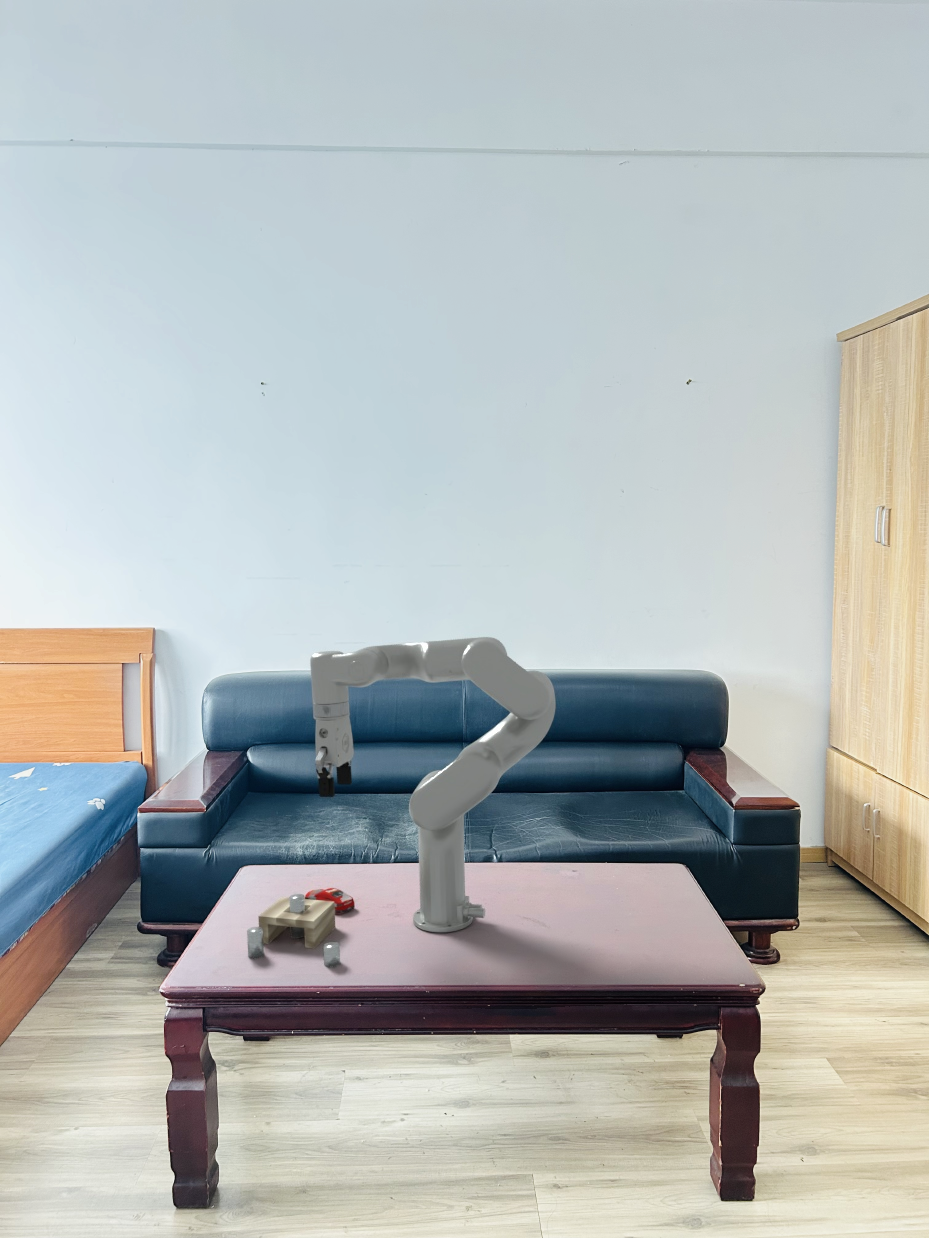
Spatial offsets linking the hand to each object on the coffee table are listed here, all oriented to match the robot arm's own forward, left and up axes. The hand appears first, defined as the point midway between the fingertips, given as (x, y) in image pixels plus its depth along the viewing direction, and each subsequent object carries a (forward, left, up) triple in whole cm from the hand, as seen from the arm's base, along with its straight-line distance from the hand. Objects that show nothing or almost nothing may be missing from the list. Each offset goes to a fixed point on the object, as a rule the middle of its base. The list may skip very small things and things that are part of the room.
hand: (336, 790), depth 183 cm
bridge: (+5, +10, -28) cm, 30 cm away
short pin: (-7, +20, -28) cm, 35 cm away
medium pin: (+9, +20, -28) cm, 35 cm away
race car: (+5, -5, -28) cm, 29 cm away
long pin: (+5, +10, -28) cm, 30 cm away
